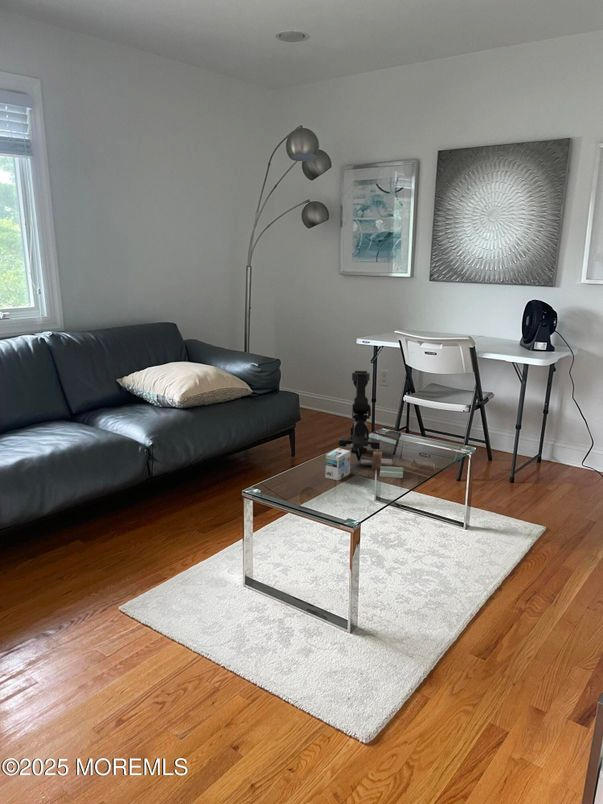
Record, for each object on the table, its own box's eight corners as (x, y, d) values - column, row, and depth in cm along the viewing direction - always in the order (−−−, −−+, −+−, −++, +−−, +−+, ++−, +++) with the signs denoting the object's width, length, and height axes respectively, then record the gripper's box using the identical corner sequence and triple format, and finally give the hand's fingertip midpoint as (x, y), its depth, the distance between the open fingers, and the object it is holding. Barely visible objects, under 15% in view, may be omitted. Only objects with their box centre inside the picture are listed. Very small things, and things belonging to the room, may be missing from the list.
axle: (361, 466, 280) (361, 459, 278) (361, 462, 283) (361, 455, 281) (392, 468, 277) (392, 461, 276) (392, 464, 280) (392, 457, 279)
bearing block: (371, 468, 276) (372, 458, 274) (373, 461, 285) (373, 451, 284) (380, 469, 275) (381, 459, 274) (381, 461, 284) (382, 452, 283)
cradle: (379, 476, 267) (379, 472, 266) (380, 469, 274) (380, 465, 274) (402, 478, 265) (403, 473, 265) (403, 471, 273) (403, 467, 272)
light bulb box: (338, 481, 261) (338, 457, 259) (324, 477, 265) (325, 454, 262) (350, 473, 270) (351, 450, 267) (337, 470, 274) (337, 447, 271)
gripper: (337, 432, 271) (336, 465, 275) (379, 435, 268) (378, 468, 272) (340, 425, 282) (339, 457, 286) (381, 427, 278) (379, 460, 282)
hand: (358, 460), depth 281 cm, fingers closed
